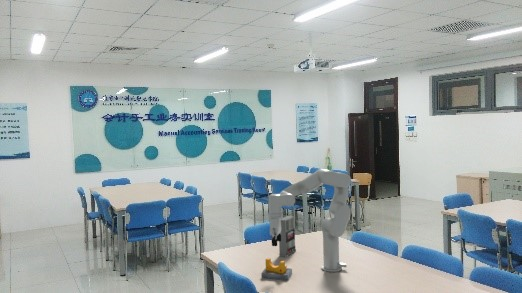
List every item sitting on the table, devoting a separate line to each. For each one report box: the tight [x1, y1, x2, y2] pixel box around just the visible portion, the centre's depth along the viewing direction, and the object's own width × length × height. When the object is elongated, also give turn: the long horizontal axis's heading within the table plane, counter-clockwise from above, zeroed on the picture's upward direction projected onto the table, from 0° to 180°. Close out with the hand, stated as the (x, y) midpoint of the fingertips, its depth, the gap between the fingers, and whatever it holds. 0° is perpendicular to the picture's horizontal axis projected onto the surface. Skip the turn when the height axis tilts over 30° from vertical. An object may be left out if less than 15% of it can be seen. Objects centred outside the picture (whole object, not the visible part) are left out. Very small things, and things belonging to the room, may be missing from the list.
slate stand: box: [261, 267, 293, 281], centre depth 241 cm, size 16×11×3 cm
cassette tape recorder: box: [278, 215, 297, 257], centre depth 283 cm, size 14×6×25 cm, turn 148°
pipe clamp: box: [265, 257, 288, 273], centre depth 242 cm, size 12×4×6 cm, turn 56°
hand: (276, 243), depth 241 cm, fingers open, 9 cm apart
